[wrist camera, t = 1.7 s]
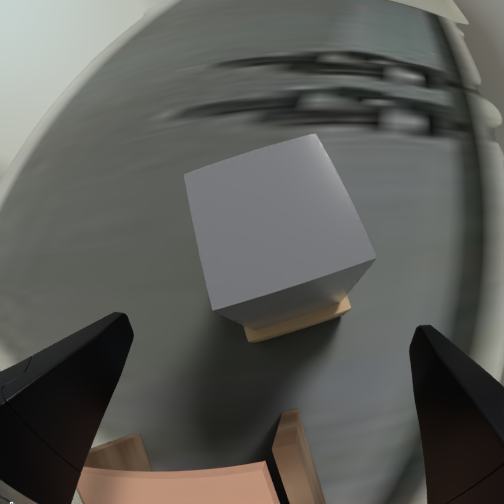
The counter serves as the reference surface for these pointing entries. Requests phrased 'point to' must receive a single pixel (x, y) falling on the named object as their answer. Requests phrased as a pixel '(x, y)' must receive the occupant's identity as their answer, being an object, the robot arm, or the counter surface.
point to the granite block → (276, 233)
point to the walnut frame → (284, 450)
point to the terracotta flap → (179, 486)
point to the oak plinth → (298, 323)
